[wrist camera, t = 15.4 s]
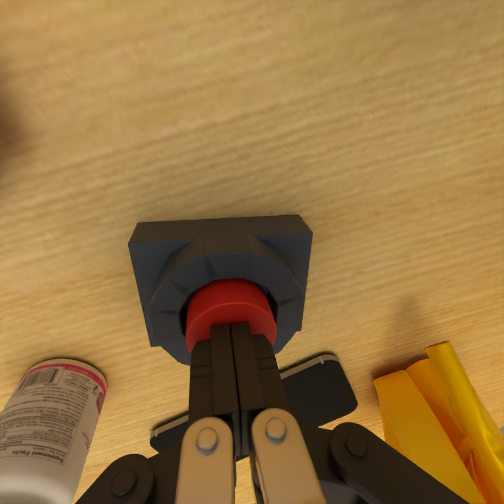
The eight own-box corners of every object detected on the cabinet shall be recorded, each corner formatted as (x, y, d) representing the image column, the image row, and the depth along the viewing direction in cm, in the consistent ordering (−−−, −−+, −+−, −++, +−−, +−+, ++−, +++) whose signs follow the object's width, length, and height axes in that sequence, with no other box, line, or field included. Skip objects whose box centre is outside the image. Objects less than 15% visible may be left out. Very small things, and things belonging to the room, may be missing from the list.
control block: (299, 209, 15) (329, 245, 11) (290, 309, 18) (311, 360, 15) (136, 217, 14) (114, 260, 10) (156, 321, 17) (145, 381, 14)
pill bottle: (95, 412, 20) (34, 599, 13) (15, 398, 18) (-108, 604, 11) (119, 367, 18) (65, 551, 11) (34, 347, 17) (-98, 549, 9)
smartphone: (361, 409, 23) (194, 480, 24) (357, 401, 24) (195, 470, 25) (336, 355, 20) (142, 441, 21) (332, 347, 20) (144, 431, 21)
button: (269, 272, 12) (279, 298, 11) (267, 335, 14) (274, 365, 13) (183, 279, 12) (180, 307, 10) (191, 343, 14) (190, 375, 12)
